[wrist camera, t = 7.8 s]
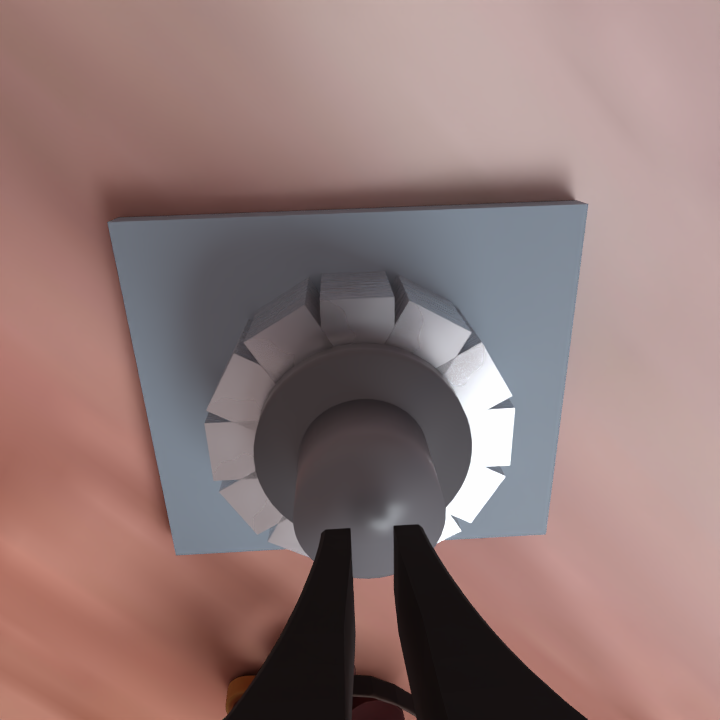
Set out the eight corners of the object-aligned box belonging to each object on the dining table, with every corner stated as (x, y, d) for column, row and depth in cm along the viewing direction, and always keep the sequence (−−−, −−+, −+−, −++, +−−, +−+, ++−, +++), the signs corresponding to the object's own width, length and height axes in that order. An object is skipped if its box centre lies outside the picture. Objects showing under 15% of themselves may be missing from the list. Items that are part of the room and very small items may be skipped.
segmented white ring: (496, 266, 19) (525, 291, 16) (480, 500, 23) (501, 555, 20) (207, 277, 19) (185, 305, 16) (241, 513, 23) (227, 570, 20)
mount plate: (576, 200, 20) (588, 204, 19) (537, 519, 25) (545, 534, 24) (118, 217, 19) (107, 222, 18) (181, 539, 25) (176, 555, 24)
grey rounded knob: (453, 311, 20) (512, 401, 13) (441, 471, 22) (486, 611, 16) (261, 313, 19) (226, 407, 13) (273, 475, 22) (248, 620, 16)
